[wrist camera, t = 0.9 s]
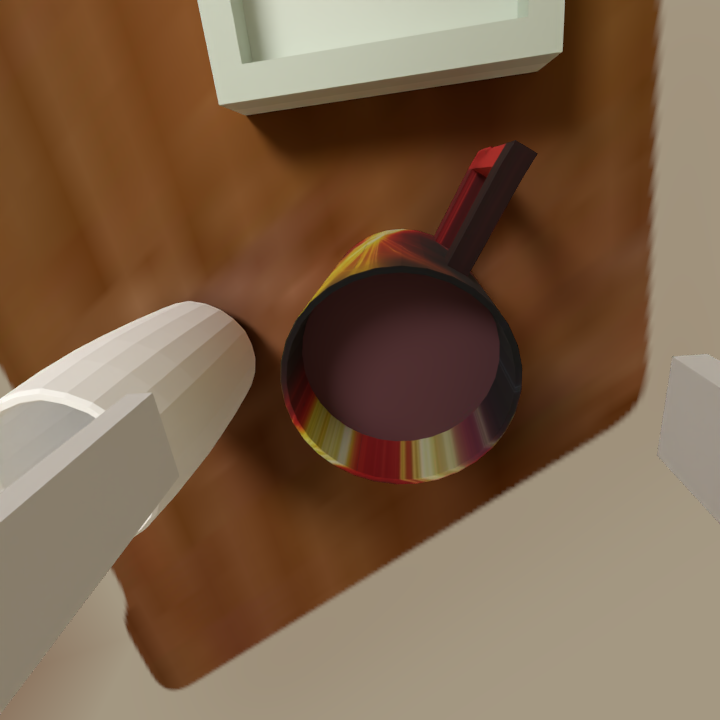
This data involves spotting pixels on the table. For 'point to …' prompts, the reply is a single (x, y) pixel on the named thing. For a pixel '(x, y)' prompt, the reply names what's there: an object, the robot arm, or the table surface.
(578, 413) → the table surface
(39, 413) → the cup
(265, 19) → the tray
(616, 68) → the table surface
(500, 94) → the table surface
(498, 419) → the mug
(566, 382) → the table surface
